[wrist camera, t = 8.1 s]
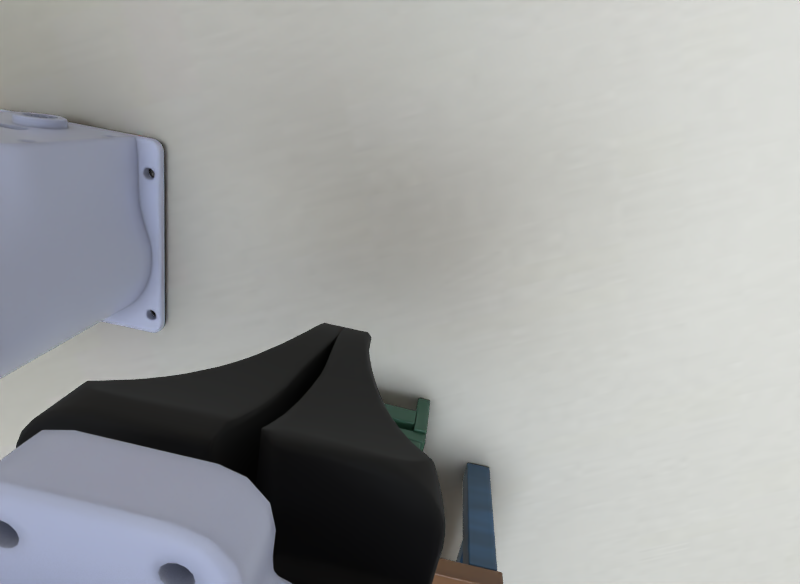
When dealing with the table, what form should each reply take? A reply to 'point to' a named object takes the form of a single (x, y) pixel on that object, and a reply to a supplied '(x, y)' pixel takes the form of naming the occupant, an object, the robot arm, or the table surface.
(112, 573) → the robot arm
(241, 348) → the table surface
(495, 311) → the table surface
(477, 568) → the desk
